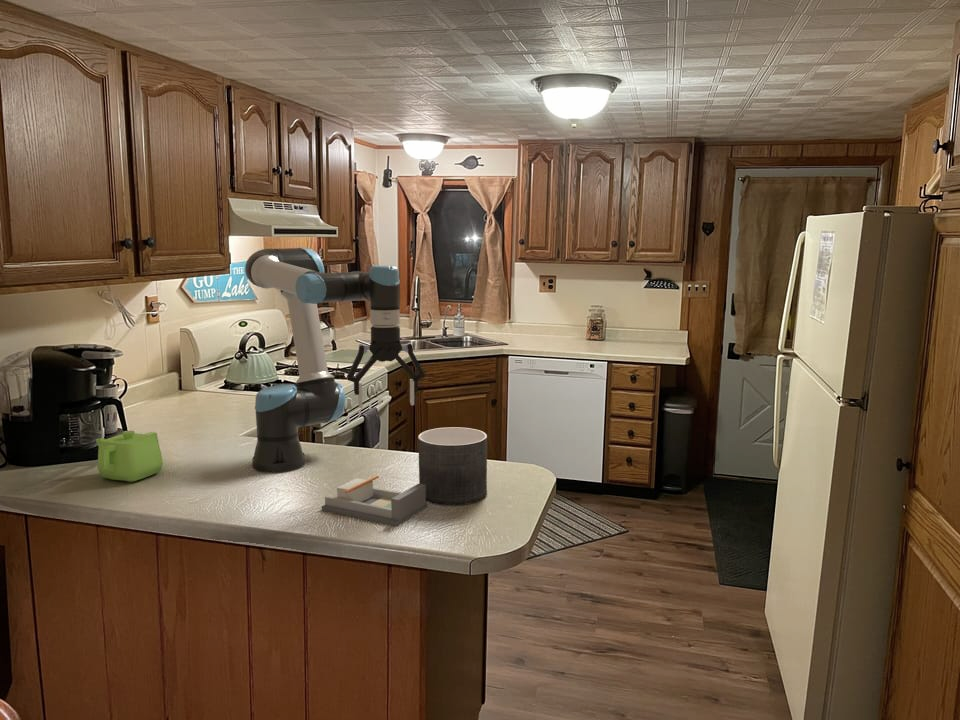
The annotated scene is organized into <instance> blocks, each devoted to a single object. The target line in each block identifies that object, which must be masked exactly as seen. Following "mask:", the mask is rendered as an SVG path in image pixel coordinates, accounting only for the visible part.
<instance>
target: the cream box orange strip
mask: <svg viewBox="0 0 960 720" xmlns="http://www.w3.org/2000/svg"><path fill="white" fill-rule="evenodd" d="M377 479H379V475H376V476H373V477H371V478H369V479H363V478H358V477H357V478H356V477H355V478H354V479H352V480H350V481H348V482H346V483H343V484H341V485H339V486H337V487H336V495H337V496H336V497H337V498H342V499H347V500H352V501H357V502H363V501H365V500H367V499H369V498H371V497H372V496H373V487H374V481H375V480H377Z"/></svg>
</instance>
